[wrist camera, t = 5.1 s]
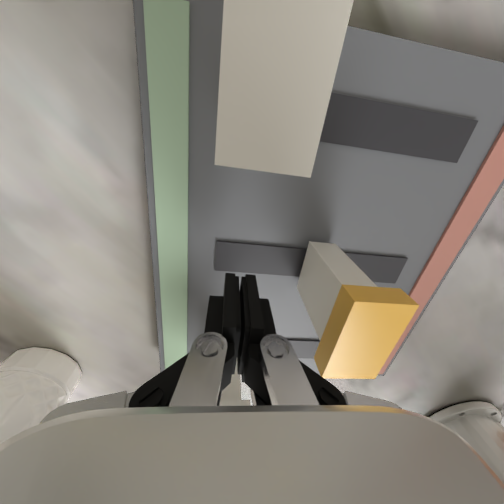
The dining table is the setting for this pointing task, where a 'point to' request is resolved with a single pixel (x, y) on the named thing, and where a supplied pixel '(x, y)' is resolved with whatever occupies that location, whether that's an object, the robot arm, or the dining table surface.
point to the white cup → (34, 387)
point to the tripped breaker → (350, 314)
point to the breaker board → (337, 172)
